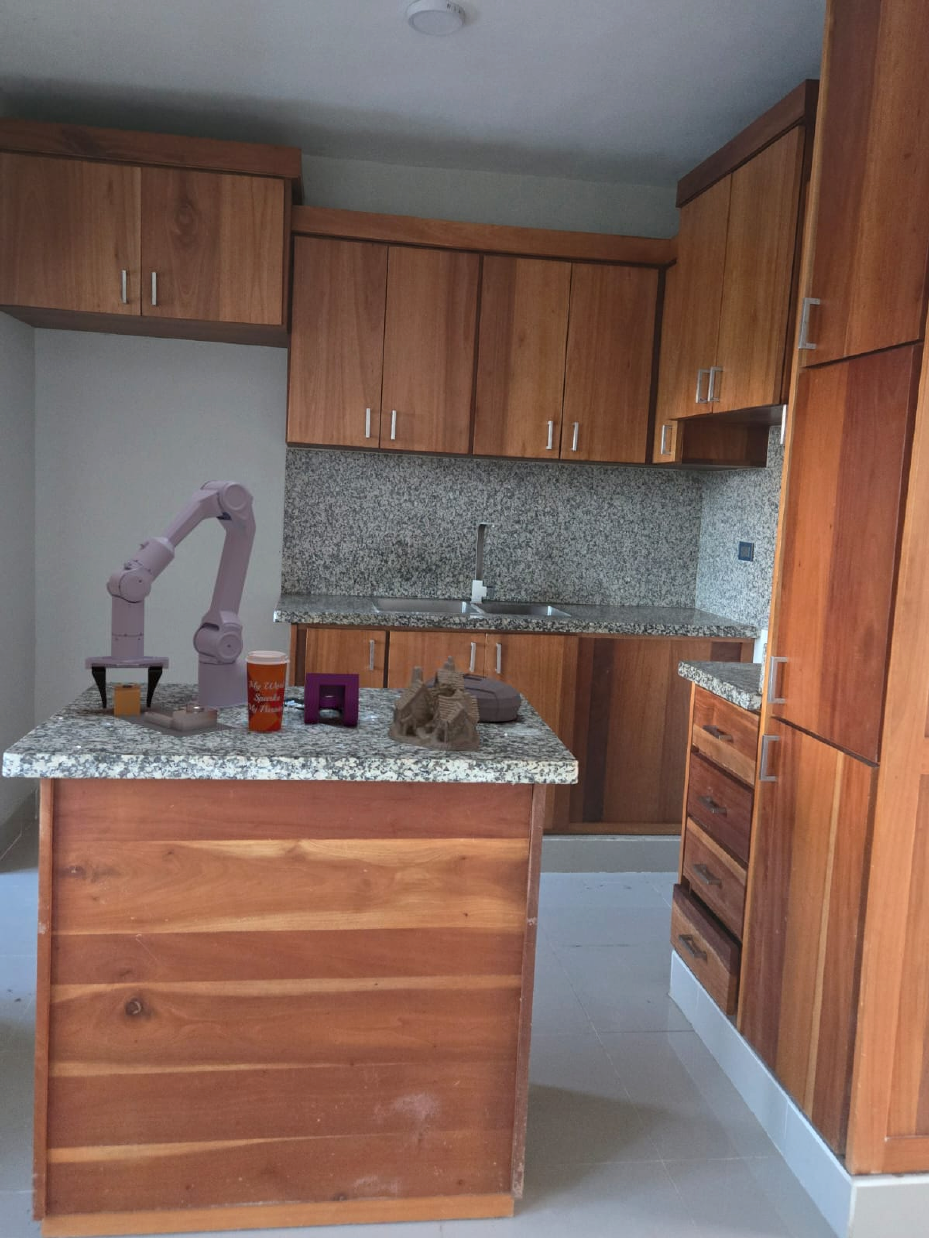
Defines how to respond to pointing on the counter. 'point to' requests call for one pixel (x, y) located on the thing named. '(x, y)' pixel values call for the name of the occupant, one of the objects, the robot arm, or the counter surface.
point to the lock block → (126, 699)
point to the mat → (173, 732)
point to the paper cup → (266, 689)
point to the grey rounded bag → (490, 697)
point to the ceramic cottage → (437, 712)
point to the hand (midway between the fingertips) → (126, 706)
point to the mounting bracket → (334, 685)
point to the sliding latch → (185, 718)
